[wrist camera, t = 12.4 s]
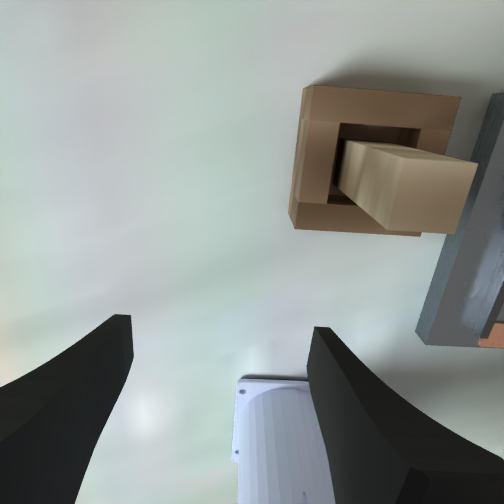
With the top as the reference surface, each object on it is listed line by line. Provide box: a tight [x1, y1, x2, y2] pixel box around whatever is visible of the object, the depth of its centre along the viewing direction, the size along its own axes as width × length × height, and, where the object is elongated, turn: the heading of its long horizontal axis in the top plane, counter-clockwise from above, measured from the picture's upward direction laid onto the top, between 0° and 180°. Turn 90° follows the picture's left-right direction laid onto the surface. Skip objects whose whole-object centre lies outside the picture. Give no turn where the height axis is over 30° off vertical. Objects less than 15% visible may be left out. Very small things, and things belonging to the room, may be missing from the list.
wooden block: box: [333, 138, 478, 234], centre depth 15 cm, size 2×2×8 cm
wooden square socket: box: [288, 85, 461, 237], centre depth 18 cm, size 7×7×3 cm
